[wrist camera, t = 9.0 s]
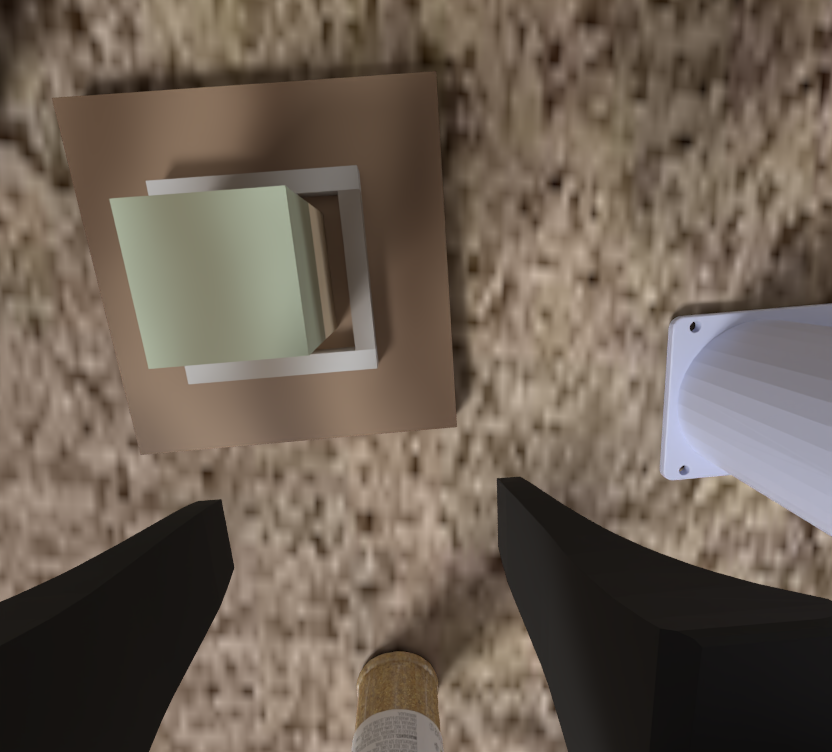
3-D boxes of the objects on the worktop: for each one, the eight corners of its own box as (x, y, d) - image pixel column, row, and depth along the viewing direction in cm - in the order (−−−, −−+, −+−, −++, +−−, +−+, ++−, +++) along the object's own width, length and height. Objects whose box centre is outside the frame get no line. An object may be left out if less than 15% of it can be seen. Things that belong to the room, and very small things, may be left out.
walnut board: (433, 84, 17) (438, 58, 15) (453, 418, 21) (460, 435, 18) (75, 109, 17) (29, 86, 15) (155, 444, 20) (126, 464, 18)
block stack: (323, 214, 17) (285, 185, 11) (337, 327, 18) (308, 355, 12) (208, 222, 17) (109, 198, 11) (228, 337, 18) (148, 369, 12)
